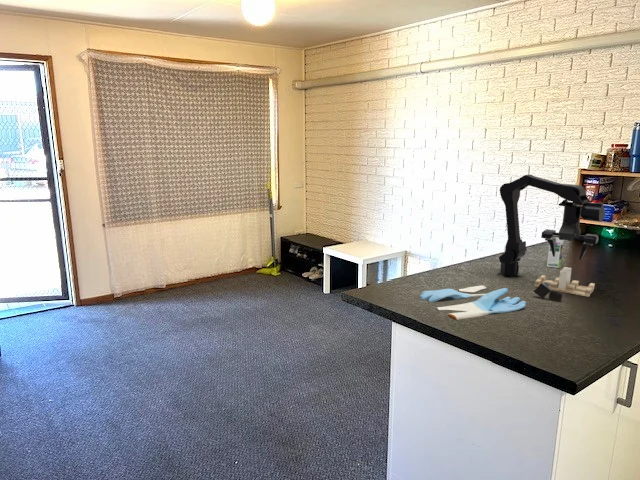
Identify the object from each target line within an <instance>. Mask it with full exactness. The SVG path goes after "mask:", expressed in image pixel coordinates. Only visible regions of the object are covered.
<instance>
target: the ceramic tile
mask: <svg viewBox="0 0 640 480" xmlns="http://www.w3.org/2000/svg"><path fill="white" fill-rule="evenodd" d="M572 269H573V268H572V267H567V266H563V268H562V269H561V270H560V271H559V277H558V278H559V285H558V289H563V290H566V289H567V287H568V286H569V284H570V283H571V276H572Z"/></svg>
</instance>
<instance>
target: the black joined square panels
mask: <svg viewBox="0 0 640 480" xmlns="http://www.w3.org/2000/svg"><path fill="white" fill-rule="evenodd" d="M549 286H550V284H548V282H544V283H543V282H542V283H541V284H540V285H539V286H538V287H535V289H534V290H533V293H535V294H536V295H537V296H538V297H540V298H541V299H542V300H543V299H544V298H545V297H546V296H547V295H548V298H549V299H550V300H551V301H554V302H561V301H562V298H563V294H564V293H563V292H559V291H554V290H551V288H549Z"/></svg>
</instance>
